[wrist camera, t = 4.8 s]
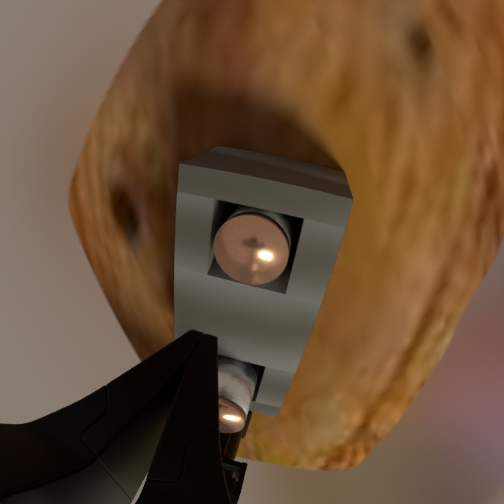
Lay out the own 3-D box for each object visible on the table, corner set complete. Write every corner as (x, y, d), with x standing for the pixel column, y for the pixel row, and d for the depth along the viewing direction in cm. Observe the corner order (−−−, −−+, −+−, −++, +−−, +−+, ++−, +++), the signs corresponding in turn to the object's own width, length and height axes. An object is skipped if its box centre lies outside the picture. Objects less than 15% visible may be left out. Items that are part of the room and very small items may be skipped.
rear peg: (257, 378, 22) (240, 438, 17) (212, 365, 22) (187, 422, 18) (266, 347, 20) (248, 412, 16) (215, 333, 21) (186, 394, 16)
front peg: (291, 244, 20) (279, 292, 15) (238, 232, 20) (210, 274, 16) (303, 192, 18) (295, 226, 13) (245, 179, 19) (217, 208, 14)
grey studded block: (287, 362, 26) (276, 416, 21) (201, 339, 27) (176, 388, 22) (344, 171, 18) (353, 199, 13) (219, 145, 19) (179, 163, 14)
